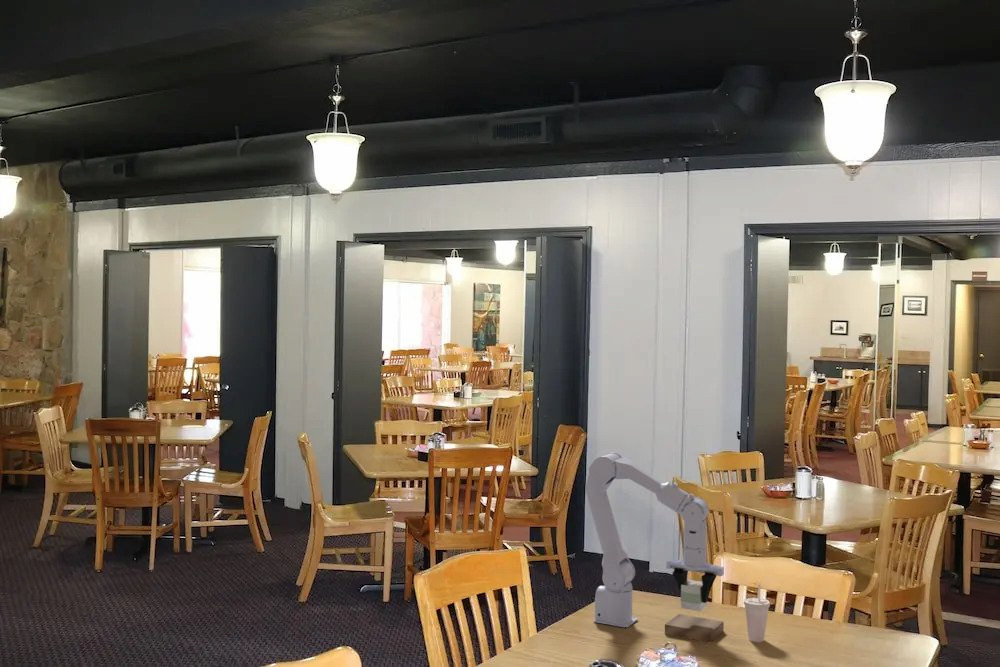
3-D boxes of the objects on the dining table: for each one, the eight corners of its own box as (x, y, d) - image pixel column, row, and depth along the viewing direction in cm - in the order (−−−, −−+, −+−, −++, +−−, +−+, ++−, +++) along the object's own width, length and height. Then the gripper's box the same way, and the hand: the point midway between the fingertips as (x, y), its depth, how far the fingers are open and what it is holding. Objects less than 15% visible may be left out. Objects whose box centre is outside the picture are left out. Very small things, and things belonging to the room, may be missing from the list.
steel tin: (680, 608, 245) (680, 584, 245) (687, 602, 250) (687, 579, 250) (700, 611, 243) (700, 587, 243) (706, 605, 247) (706, 582, 247)
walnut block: (664, 636, 246) (664, 624, 246) (678, 625, 254) (678, 614, 254) (710, 644, 240) (710, 632, 239) (723, 633, 248) (723, 621, 248)
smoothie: (770, 644, 238) (771, 588, 238) (743, 643, 239) (744, 586, 239) (768, 636, 244) (769, 581, 244) (742, 634, 246) (743, 579, 245)
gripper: (662, 546, 247) (661, 599, 247) (717, 553, 239) (717, 608, 240) (671, 540, 253) (671, 592, 253) (726, 547, 245) (726, 601, 246)
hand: (694, 600), depth 247 cm, fingers closed on steel tin, 5 cm apart
